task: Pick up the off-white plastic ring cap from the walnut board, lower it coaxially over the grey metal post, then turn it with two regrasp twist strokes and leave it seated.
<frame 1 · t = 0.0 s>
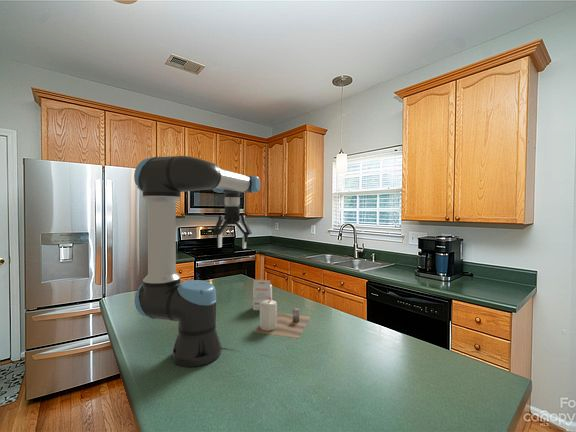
hand: (232, 248, 142), 28 cm above the counter, fingers open, 13 cm apart
board: (284, 325, 116), on the counter
cap: (268, 326, 113), point 1 cm above the counter, touching board
ink box: (262, 310, 134), on the counter
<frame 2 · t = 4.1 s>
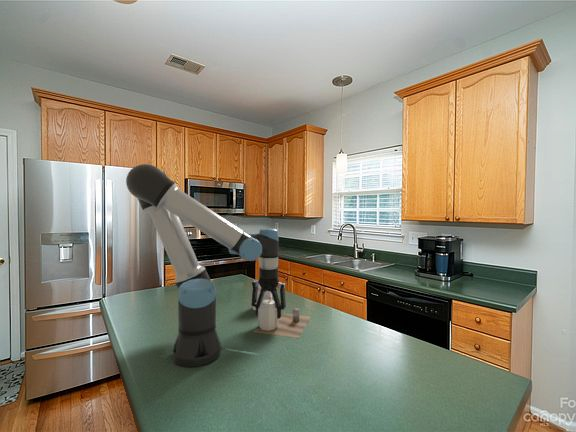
hand: (268, 324, 113), 1 cm above the counter, fingers closed on cap, 6 cm apart
cap: (268, 326, 113), point 1 cm above the counter, touching board, gripper
everything else where it was.
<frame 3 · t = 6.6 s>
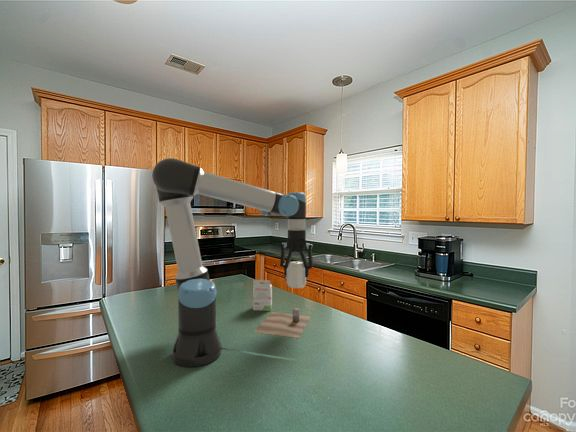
hand: (296, 284, 118), 16 cm above the counter, fingers closed on cap, 6 cm apart
cap: (296, 286, 118), point 15 cm above the counter, touching gripper
everything else where it was.
when the fingers open (3 cm above the counter, at t = 9.2 s): cap drops 2 cm, resting on board.
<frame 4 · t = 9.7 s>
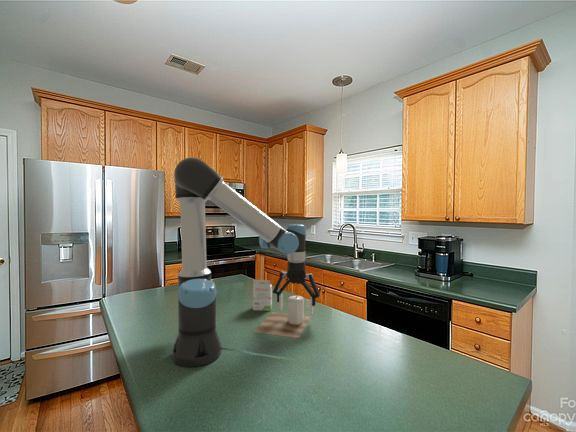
hand: (296, 311, 119), 5 cm above the counter, fingers open, 13 cm apart
cap: (295, 321, 119), point 1 cm above the counter, touching board
everything else where it was.
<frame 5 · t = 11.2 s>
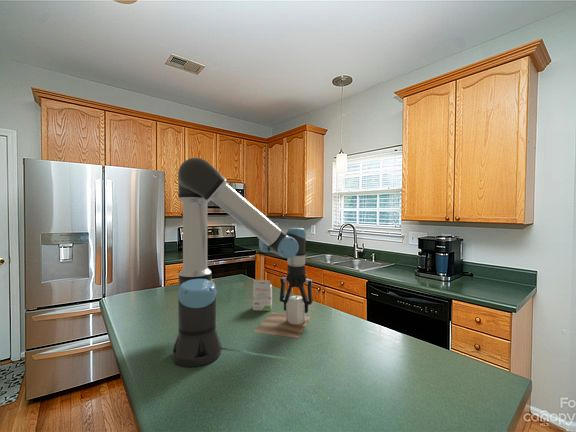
hand: (295, 319, 119), 1 cm above the counter, fingers closed on cap, 6 cm apart
cap: (295, 321, 119), point 1 cm above the counter, touching board, gripper
everything else where it was.
when the fingers open (2 cm above the counter, at t = 12.2 s): cap stays where it is, resting on board.
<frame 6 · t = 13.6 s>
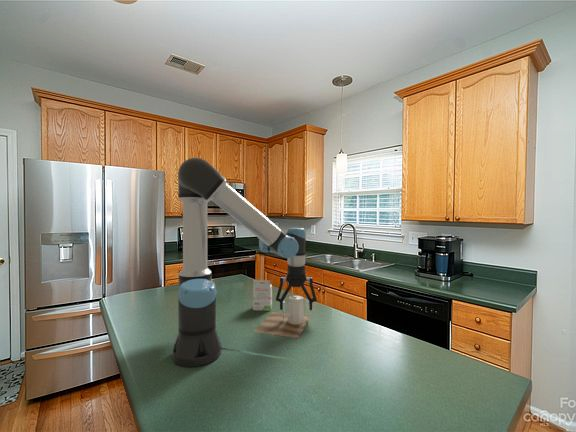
hand: (295, 317, 119), 2 cm above the counter, fingers open, 10 cm apart
cap: (295, 321, 119), point 1 cm above the counter, touching board
everything else where it was.
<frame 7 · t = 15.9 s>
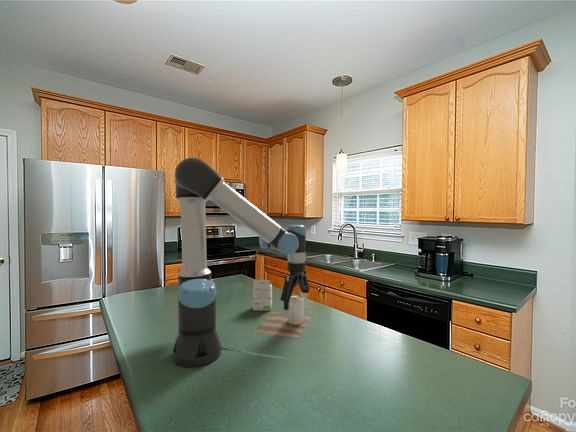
hand: (295, 312, 118), 4 cm above the counter, fingers open, 13 cm apart
nothing on the counter moved.
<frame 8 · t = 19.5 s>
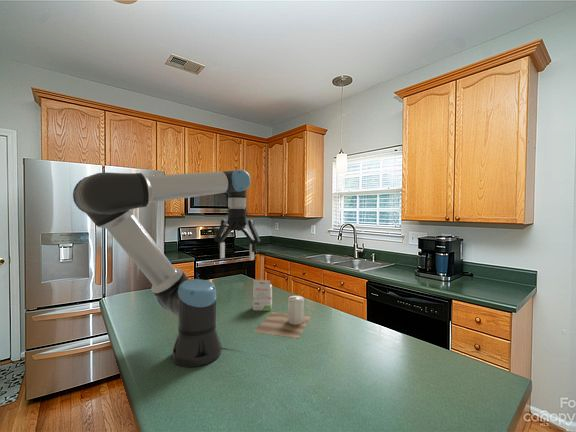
hand: (236, 258, 118), 27 cm above the counter, fingers open, 13 cm apart
nothing on the counter moved.
at the end: cap 0.0 cm from the target spot on the board, point 0.6 cm above the board's base; cap tilted 0°; the gripper is holding nothing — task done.
